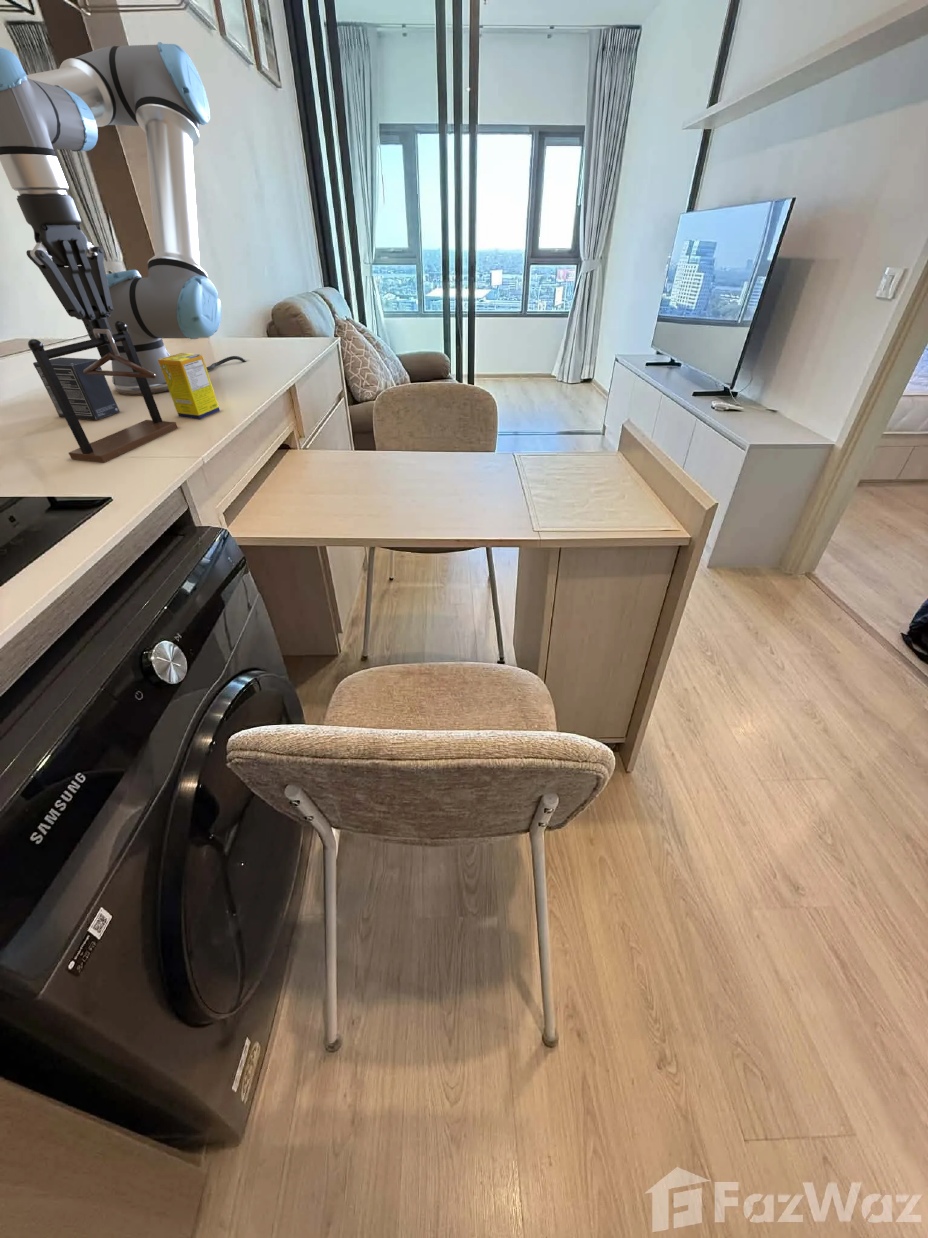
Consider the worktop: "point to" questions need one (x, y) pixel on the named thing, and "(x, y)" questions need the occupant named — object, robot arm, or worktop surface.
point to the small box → (81, 388)
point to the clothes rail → (87, 451)
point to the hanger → (92, 368)
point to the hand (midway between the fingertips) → (110, 359)
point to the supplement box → (189, 385)
